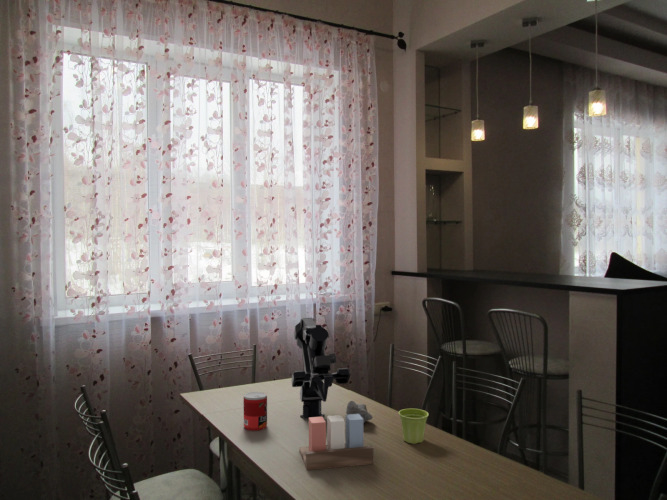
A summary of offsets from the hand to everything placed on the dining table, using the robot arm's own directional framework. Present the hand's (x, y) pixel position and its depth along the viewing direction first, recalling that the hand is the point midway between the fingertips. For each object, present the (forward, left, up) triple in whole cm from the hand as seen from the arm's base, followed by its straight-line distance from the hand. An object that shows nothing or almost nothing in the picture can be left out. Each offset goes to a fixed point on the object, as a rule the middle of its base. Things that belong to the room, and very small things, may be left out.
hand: (324, 400), depth 169 cm
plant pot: (-18, +22, -13) cm, 31 cm away
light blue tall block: (+5, +15, -11) cm, 19 cm away
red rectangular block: (+13, +8, -11) cm, 19 cm away
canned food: (+5, -26, -13) cm, 30 cm away
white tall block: (+9, +12, -11) cm, 18 cm away
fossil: (-20, -1, -13) cm, 23 cm away
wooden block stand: (+8, +11, -12) cm, 19 cm away
